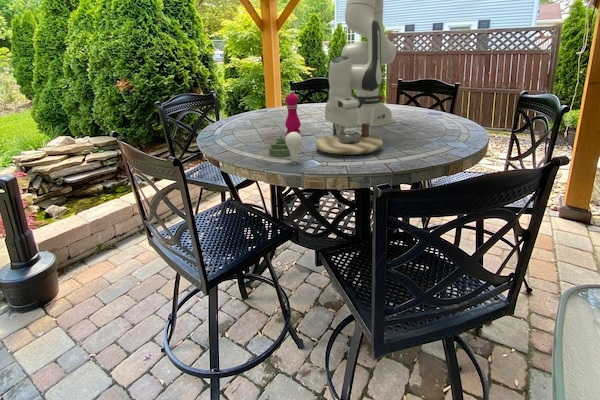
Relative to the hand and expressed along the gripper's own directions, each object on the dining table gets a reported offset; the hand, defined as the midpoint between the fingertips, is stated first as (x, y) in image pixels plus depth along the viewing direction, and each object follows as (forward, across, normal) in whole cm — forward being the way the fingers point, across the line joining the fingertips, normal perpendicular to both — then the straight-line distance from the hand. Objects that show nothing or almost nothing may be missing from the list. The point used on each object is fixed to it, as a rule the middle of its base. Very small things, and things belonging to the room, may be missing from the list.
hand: (340, 134), depth 152 cm
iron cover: (+1, +8, 0) cm, 8 cm away
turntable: (+3, +8, 0) cm, 8 cm away
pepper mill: (+5, -30, -8) cm, 32 cm away
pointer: (+4, -9, +3) cm, 10 cm away
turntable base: (+4, +8, 0) cm, 9 cm away
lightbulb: (+4, +11, -26) cm, 28 cm away
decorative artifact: (+5, -2, -25) cm, 26 cm away
